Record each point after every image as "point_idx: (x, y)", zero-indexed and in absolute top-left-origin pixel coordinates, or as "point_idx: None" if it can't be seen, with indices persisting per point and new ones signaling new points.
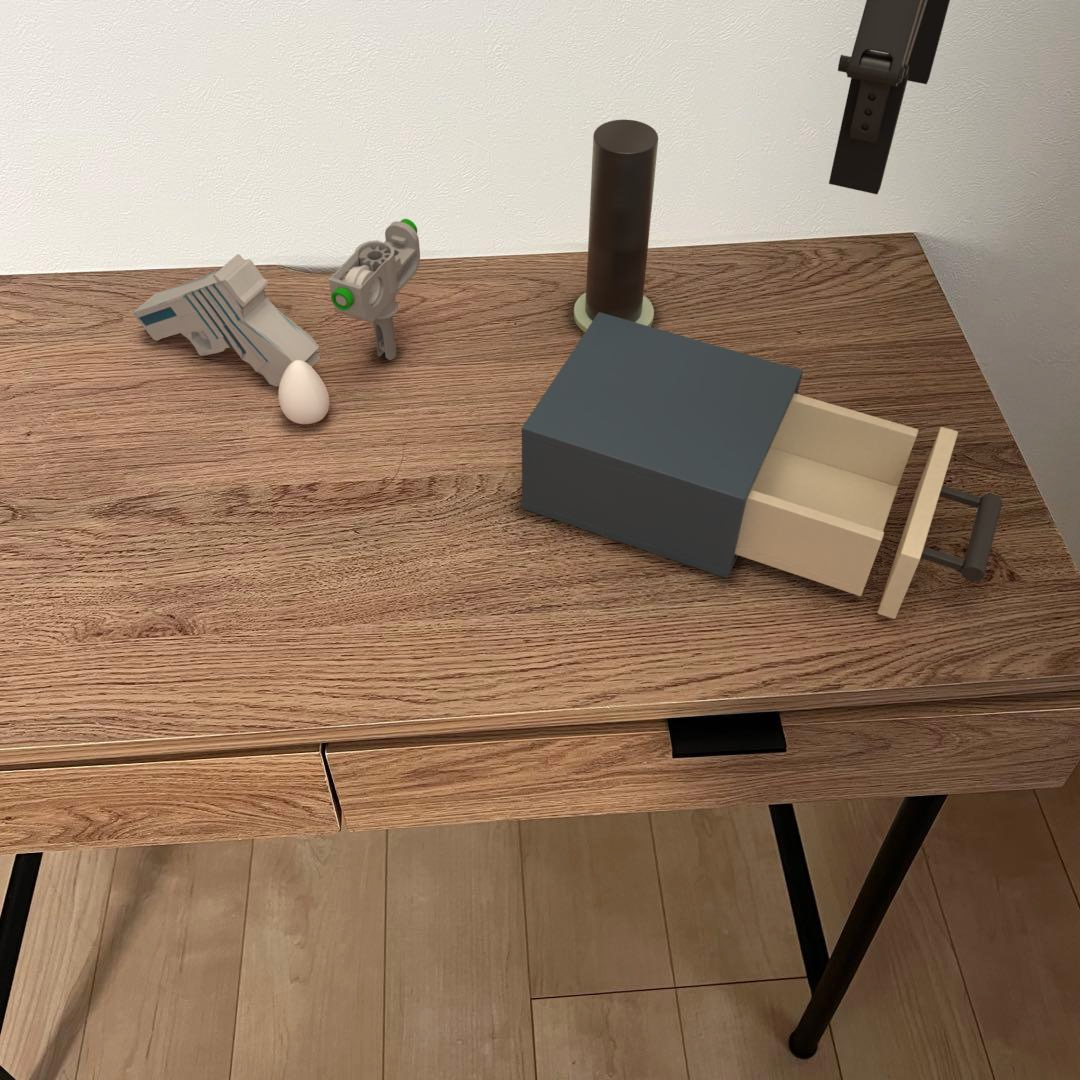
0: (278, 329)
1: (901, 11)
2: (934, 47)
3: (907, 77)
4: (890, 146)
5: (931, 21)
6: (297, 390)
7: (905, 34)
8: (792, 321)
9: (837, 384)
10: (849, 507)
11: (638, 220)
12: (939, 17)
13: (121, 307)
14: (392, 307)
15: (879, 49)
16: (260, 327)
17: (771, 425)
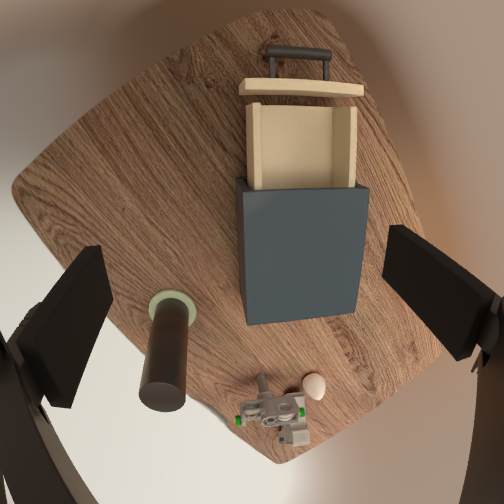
0: None
1: None
2: (84, 272)
3: (488, 293)
4: (422, 246)
5: (73, 306)
6: (324, 389)
7: None
8: (115, 217)
9: (158, 168)
10: (284, 127)
11: (174, 347)
12: (66, 301)
13: (279, 443)
14: (267, 394)
15: None
16: (302, 417)
17: (305, 193)
